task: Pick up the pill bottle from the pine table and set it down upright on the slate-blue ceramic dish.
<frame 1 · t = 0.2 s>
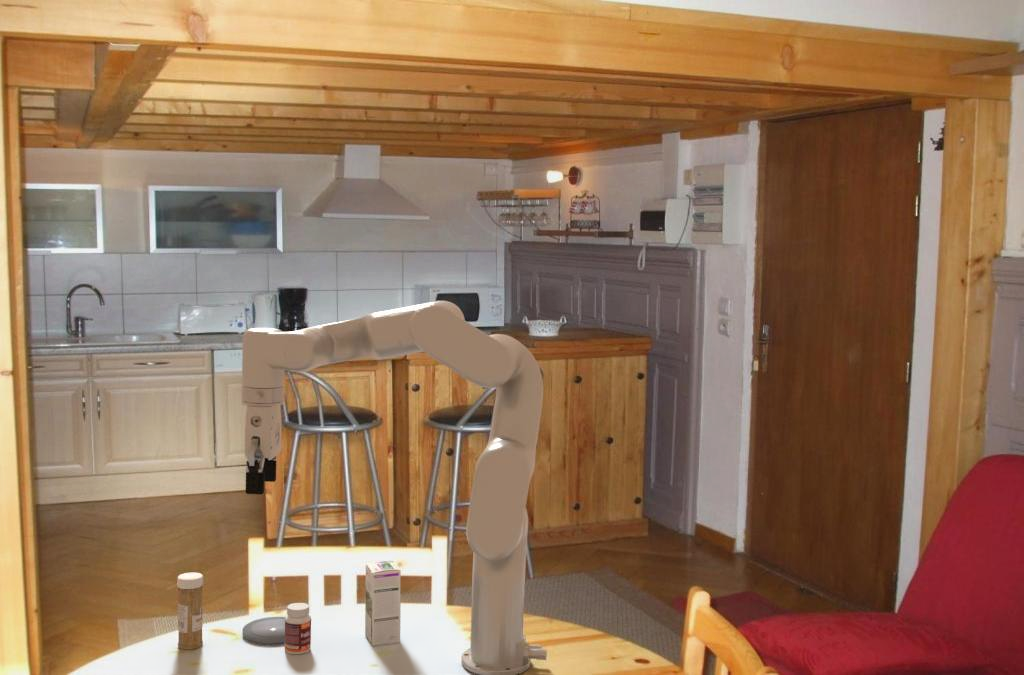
hand: (261, 487, 190), 30 cm above the table, fingers open, 9 cm apart
pill bottle: (297, 651, 191), on the table
dish: (274, 633, 199), on the table
sprinkles bottle: (190, 646, 192), on the table
syrup box: (382, 640, 198), on the table
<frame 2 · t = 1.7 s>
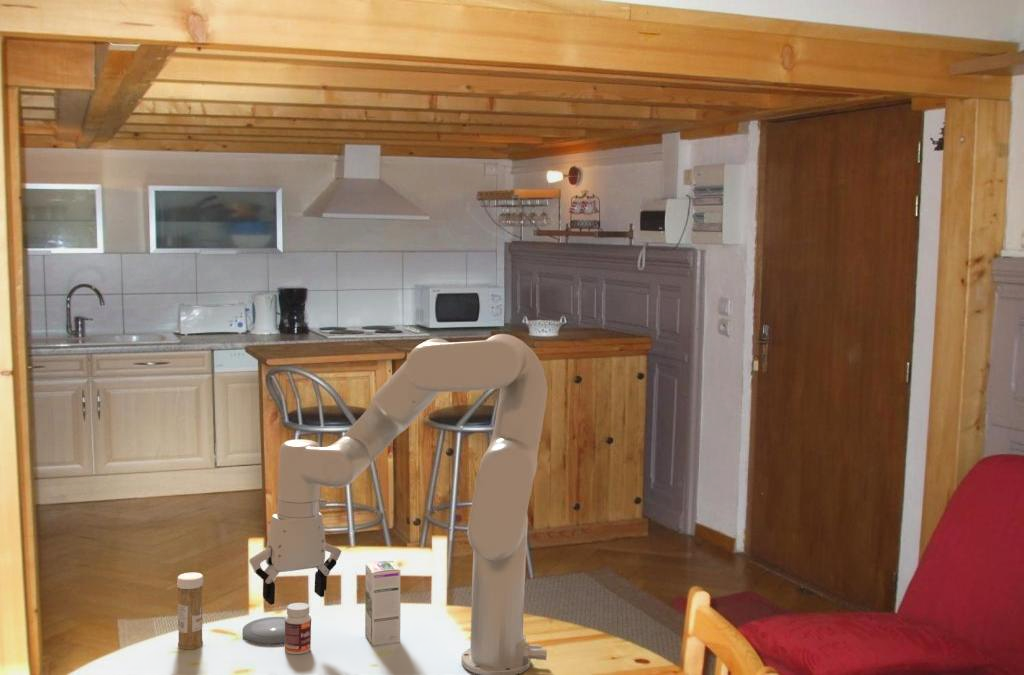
hand: (294, 598, 191), 10 cm above the table, fingers open, 9 cm apart
nothing on the table moved.
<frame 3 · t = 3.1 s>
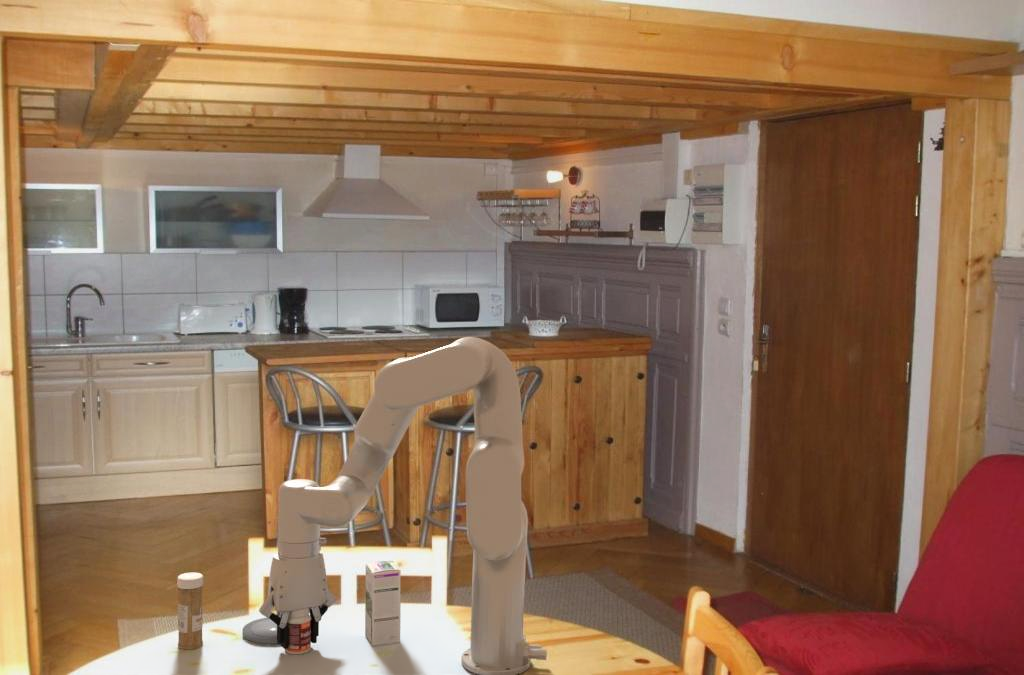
hand: (297, 642, 191), 1 cm above the table, fingers closed on pill bottle, 4 cm apart
pill bottle: (297, 651, 191), on the table, touching gripper
everything else where it was.
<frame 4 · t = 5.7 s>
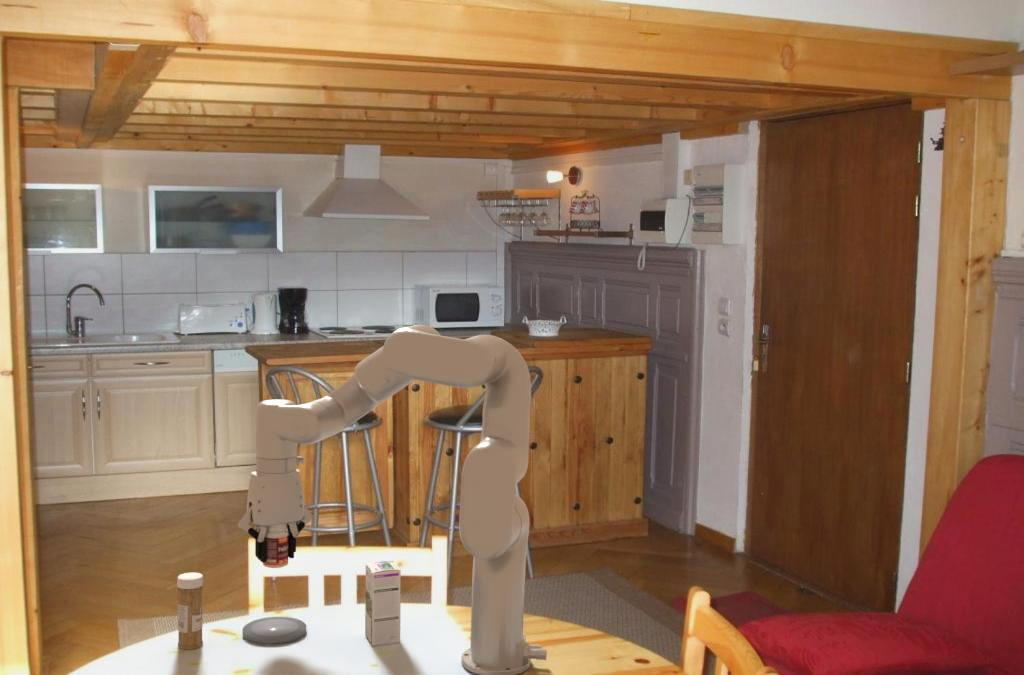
hand: (275, 557, 198), 15 cm above the table, fingers closed on pill bottle, 4 cm apart
pill bottle: (275, 565, 198), point 13 cm above the table, touching gripper
everything else where it was.
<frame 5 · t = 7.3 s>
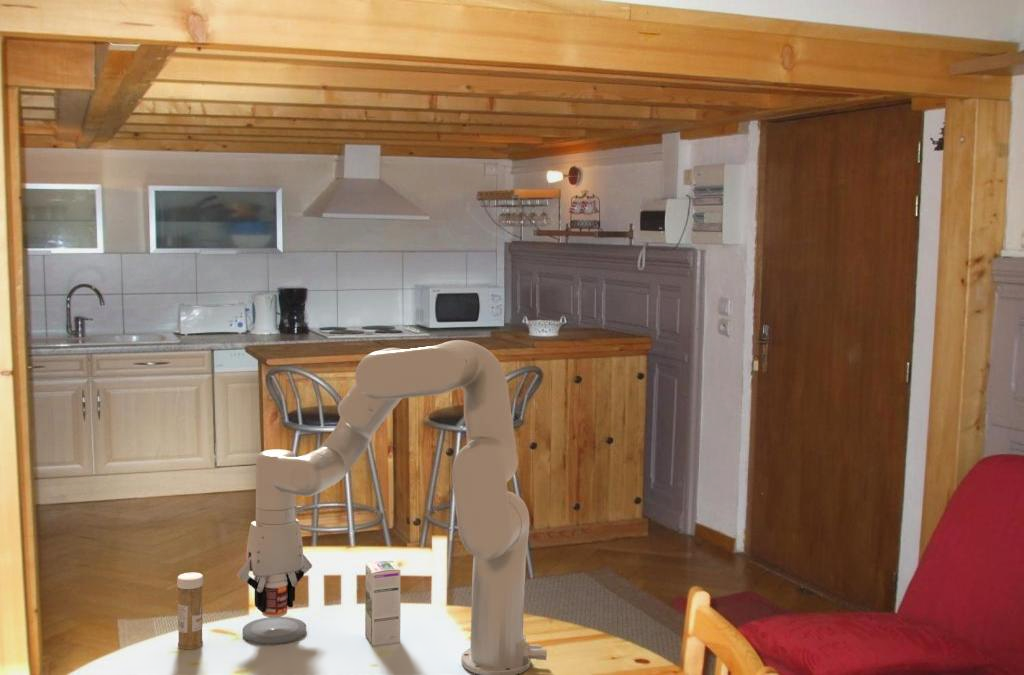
hand: (274, 606, 199), 5 cm above the table, fingers closed on pill bottle, 4 cm apart
pill bottle: (274, 614, 199), point 4 cm above the table, touching gripper
everything else where it was.
when the fingers open (4 cm above the table, at t = 8.4 s): pill bottle drops 1 cm, resting on dish.
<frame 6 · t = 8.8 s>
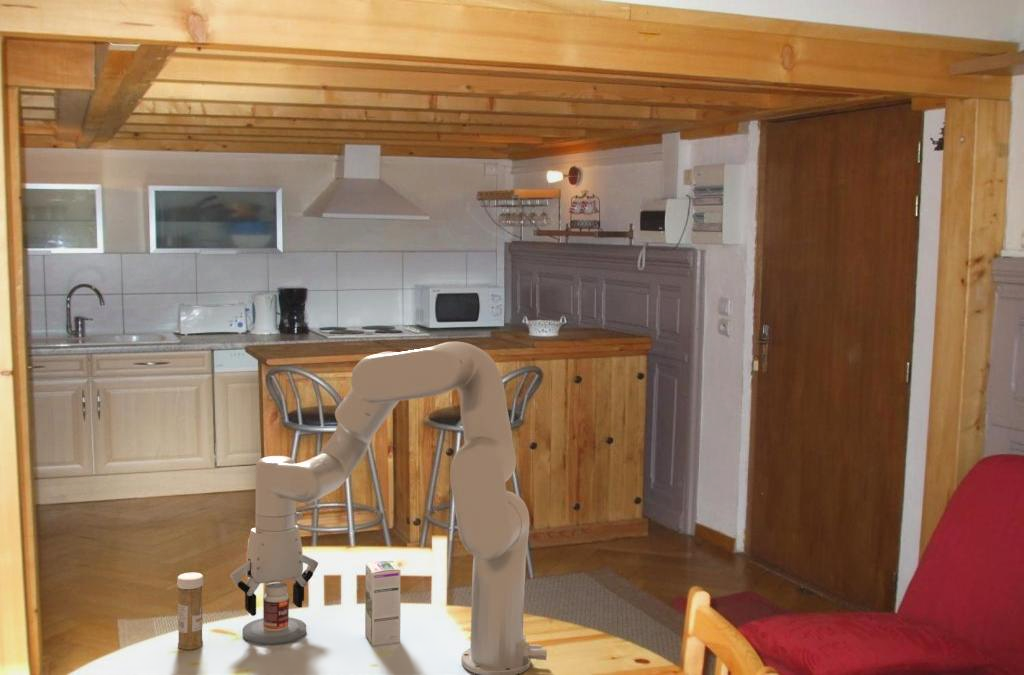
hand: (274, 609, 199), 5 cm above the table, fingers open, 8 cm apart
pill bottle: (275, 628, 199), point 1 cm above the table, touching dish
everything else where it was.
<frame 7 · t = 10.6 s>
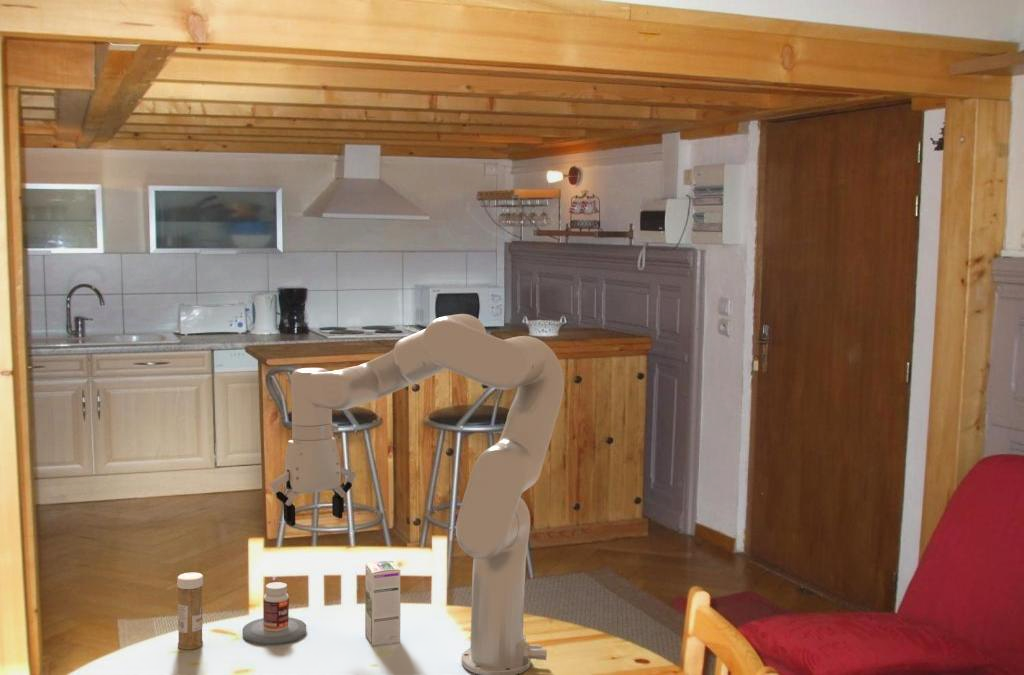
hand: (314, 520, 199), 22 cm above the table, fingers open, 9 cm apart
nothing on the table moved.
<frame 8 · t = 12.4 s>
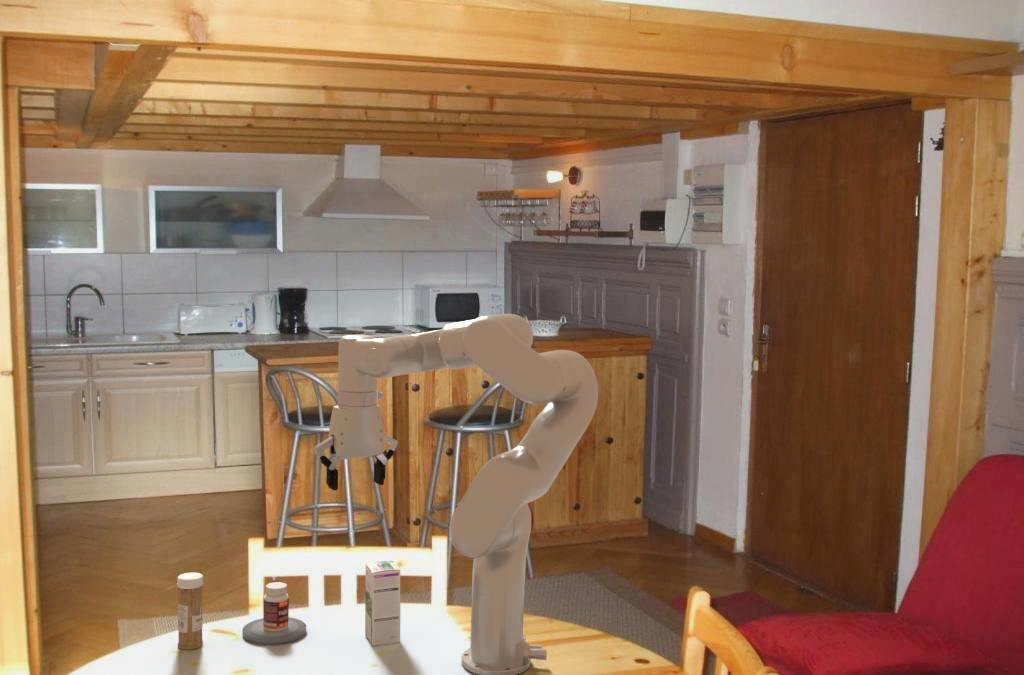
hand: (356, 486, 201), 28 cm above the table, fingers open, 9 cm apart
nothing on the table moved.
at the end: pill bottle inside the target area on the dish (0.3 cm from its centre), point 0.9 cm above the dish's base; pill bottle tilted 0°; the gripper is holding nothing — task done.
